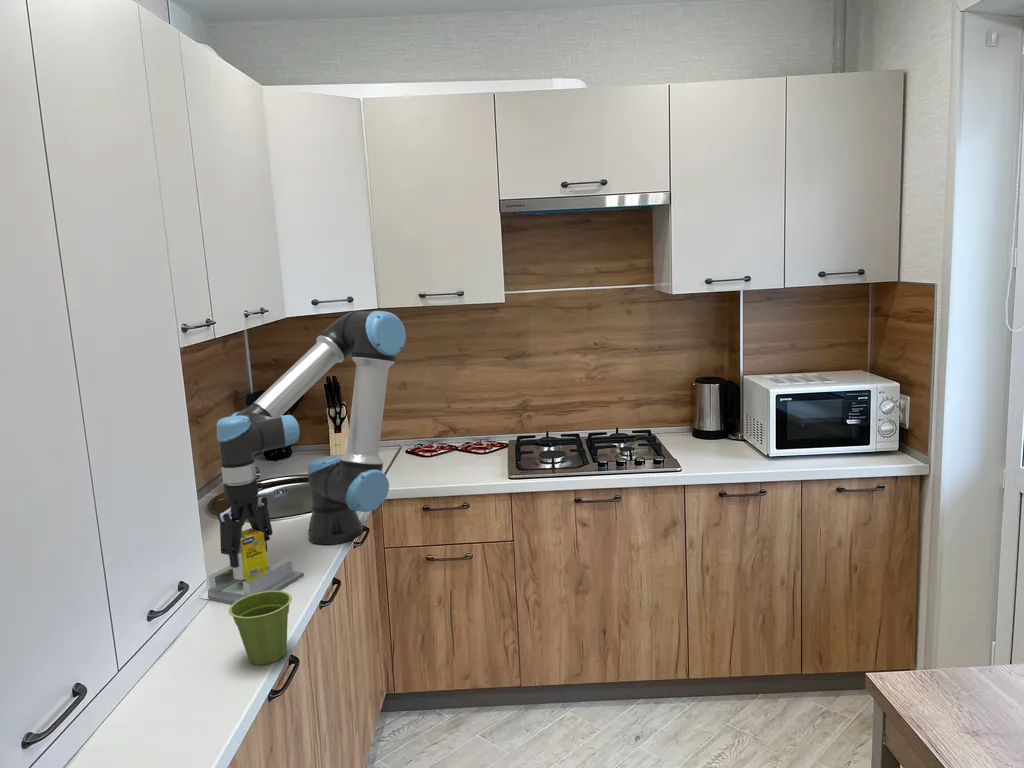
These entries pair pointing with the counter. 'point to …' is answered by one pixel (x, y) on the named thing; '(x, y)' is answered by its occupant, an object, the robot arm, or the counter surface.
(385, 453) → the counter surface
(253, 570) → the supplement box
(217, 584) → the docking plate
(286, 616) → the plant pot
